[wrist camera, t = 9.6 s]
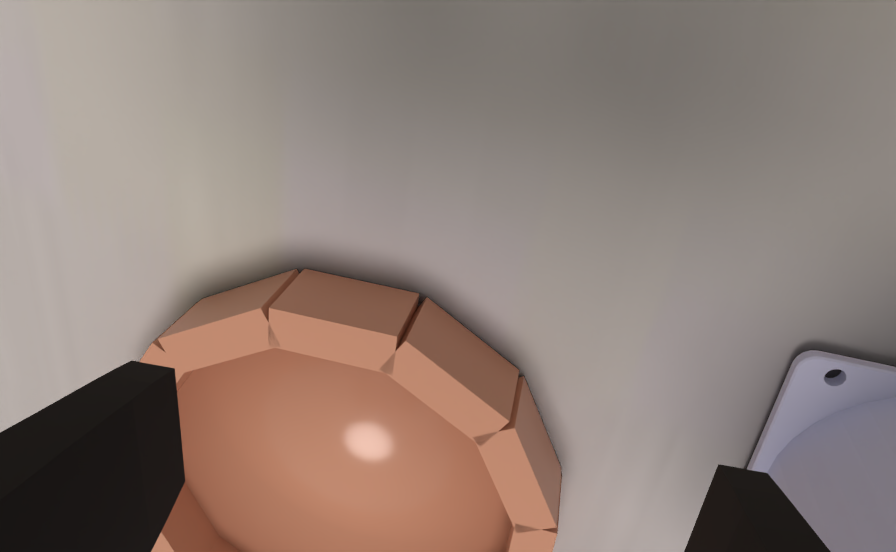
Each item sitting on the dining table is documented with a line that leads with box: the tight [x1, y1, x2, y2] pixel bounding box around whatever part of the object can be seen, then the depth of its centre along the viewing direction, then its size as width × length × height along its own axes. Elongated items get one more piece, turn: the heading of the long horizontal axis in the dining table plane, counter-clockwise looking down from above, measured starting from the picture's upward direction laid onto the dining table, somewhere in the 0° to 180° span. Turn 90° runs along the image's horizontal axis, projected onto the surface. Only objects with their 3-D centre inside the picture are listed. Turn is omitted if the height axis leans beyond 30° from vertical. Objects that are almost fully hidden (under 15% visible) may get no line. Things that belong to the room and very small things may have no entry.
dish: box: [140, 269, 562, 552], centre depth 23 cm, size 14×14×2 cm
